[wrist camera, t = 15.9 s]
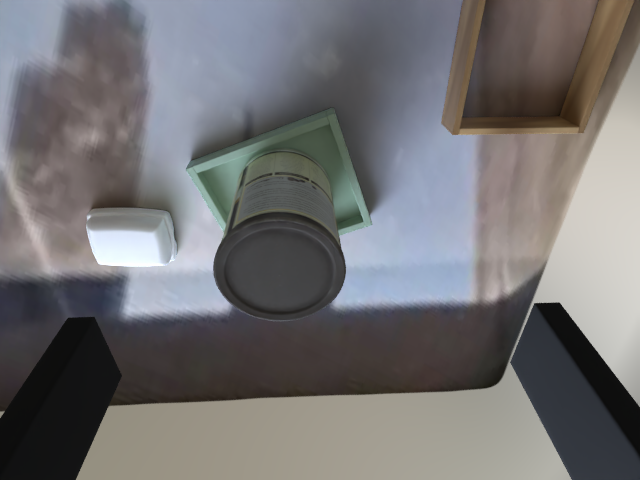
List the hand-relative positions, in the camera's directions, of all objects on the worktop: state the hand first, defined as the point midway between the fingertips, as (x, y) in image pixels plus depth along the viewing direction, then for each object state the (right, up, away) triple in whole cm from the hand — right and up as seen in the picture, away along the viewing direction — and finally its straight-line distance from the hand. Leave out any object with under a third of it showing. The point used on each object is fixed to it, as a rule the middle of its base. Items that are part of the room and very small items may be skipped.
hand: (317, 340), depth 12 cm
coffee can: (-4, +8, +30) cm, 32 cm away
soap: (-21, +4, +33) cm, 39 cm away
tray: (-4, +9, +31) cm, 32 cm away
